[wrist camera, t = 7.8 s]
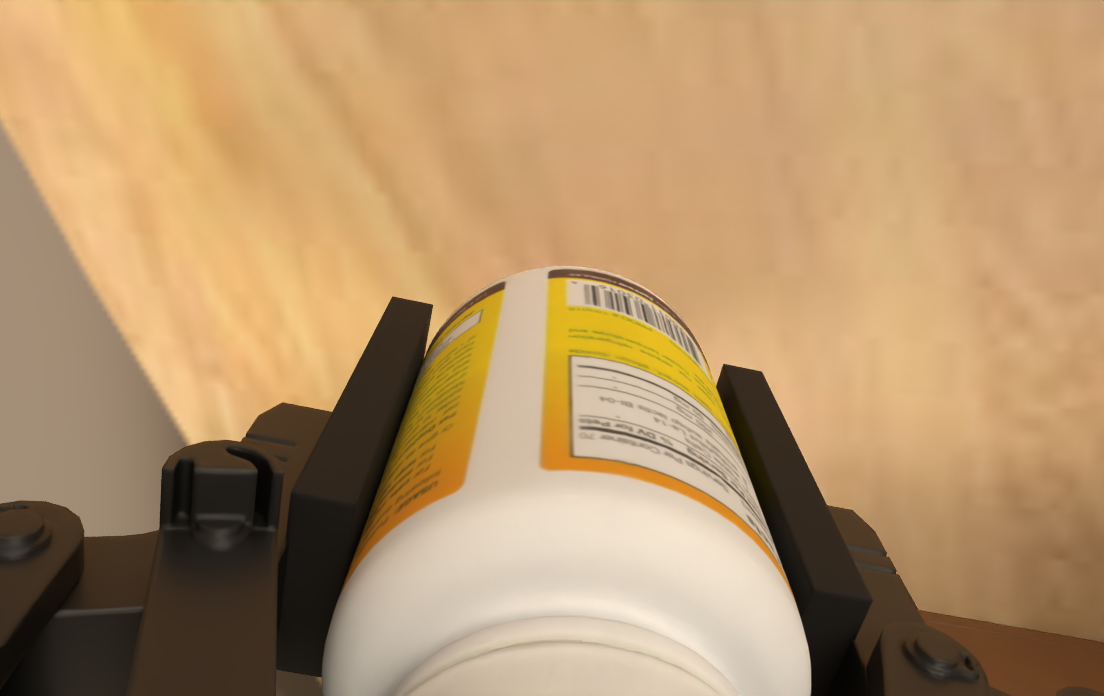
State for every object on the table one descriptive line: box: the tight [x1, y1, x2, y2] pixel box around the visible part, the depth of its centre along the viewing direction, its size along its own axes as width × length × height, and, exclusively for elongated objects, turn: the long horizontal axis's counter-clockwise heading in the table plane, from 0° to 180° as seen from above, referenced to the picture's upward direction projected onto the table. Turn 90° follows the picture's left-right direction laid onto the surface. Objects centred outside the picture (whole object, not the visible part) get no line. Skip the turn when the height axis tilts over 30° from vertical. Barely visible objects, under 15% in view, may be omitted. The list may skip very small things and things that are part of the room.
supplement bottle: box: [322, 266, 811, 696], centre depth 12 cm, size 6×6×10 cm
